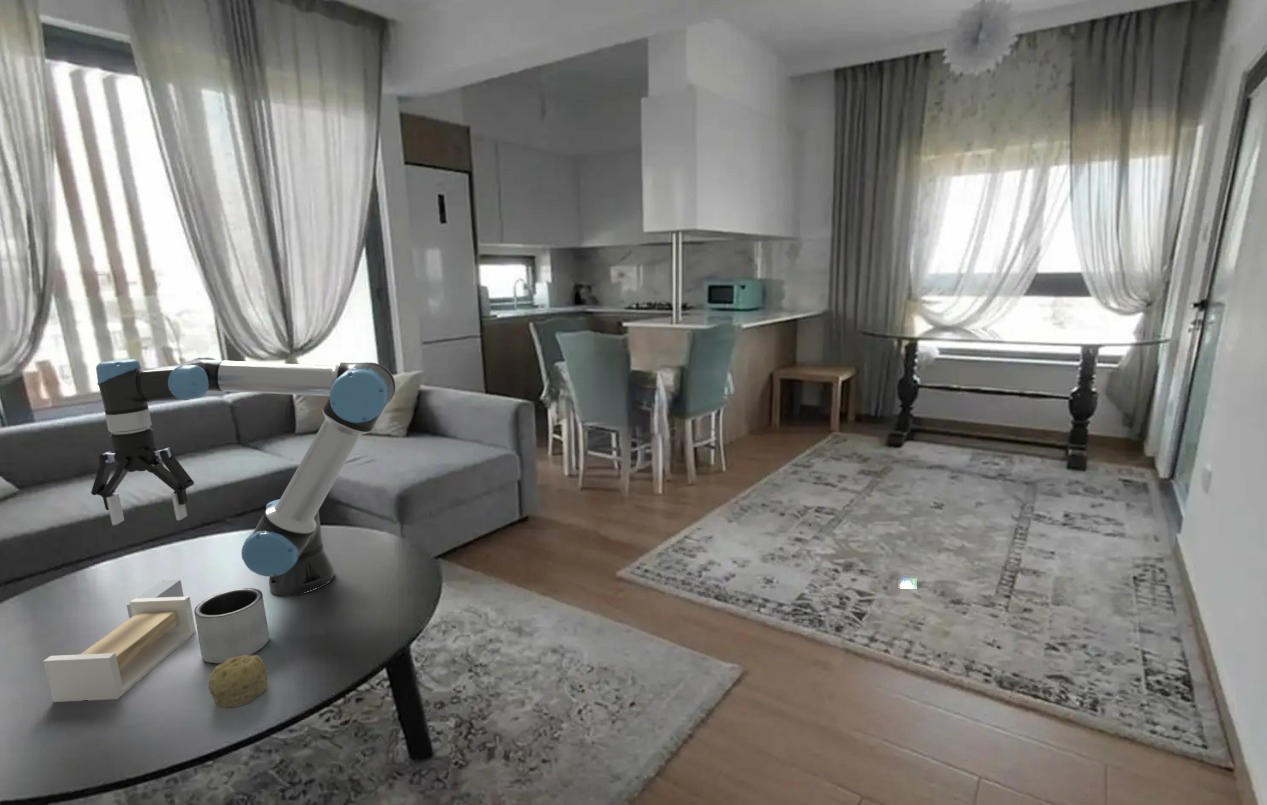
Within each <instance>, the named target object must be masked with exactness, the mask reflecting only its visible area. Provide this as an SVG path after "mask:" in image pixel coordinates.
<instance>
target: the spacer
mask: <svg viewBox="0 0 1267 805" xmlns="http://www.w3.org/2000/svg"><path fill="white" fill-rule="evenodd" d="M161 597H185V596H184V592H183V586H182V581H181V579H165V580H161V581H159V582H158V583H156V584H155V585H154V586H152V587H150V588H149V589H148V590H146V591H144V593H142V594H141V595H139V596H138V597H136V598H135V599H137V598H161ZM126 608H127V614H128V620H129V619H130V618H131V617H132V612H131V607H130V603H129V602H128V604H126Z"/></svg>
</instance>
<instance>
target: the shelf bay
mask: <svg viewBox="0 0 1267 805" xmlns="http://www.w3.org/2000/svg"><path fill="white" fill-rule="evenodd" d="M136 598H137V599H136ZM136 598H133V599H132V600H130V601H129V602H128V604H129V603H130V607H131V612H132V617H133V616H134V615H136V614H137V613H153V612H175V617H176V622H177V624H176V625H175V626H174V627H172V628H171V629H170V630H169V631H167V632H166V633H165V634H164V635H162V636H161V637H160V638H159V639H157V640H156V641H155V642H154V643H152V644H151V645H150V646H149V647H148V648H146V649H145V650H144V651H143V652H141V653H140V654H139V655H138V656H136V657H135V658H134V659H133V660H131V661H130V662H129V663H128V664H126V665H125V666H124V667H123V668H122V669H120V670H119V667H118V663H117V658H116V653H103V654H81V653H80V654H81V655H80V654H64V655H63V654H62V655H49V656H48V657H46V659H44V660H43V665H44V668H45V673H46V678H47V682H48V687H49V690H50V694H51V698H52V699H51V700H52V702H53V703H66V702H81V701H83V700H88V701H105V700H119V699H121V697H122V696H123V695H124V694H125V693H126V692H128V691H129V690H130V689H131V688H133V686H135V685H136V684H137V683H138V682H140V681H141V680H142V679H143V678H144V677H145V676H146V675H148V673H150V672H151V671H152V670H154V668H156V667H157V666H158V665H159V664H160V663H161V662H162V661H164V660H165V659H166V658H167V657H169V655H170V654H172V653H173V652H174V651H175V650H176V649H178V648H179V647H180V646H181V645H182V644H183V643H184V642H185V641H187V640H188V639H189V638H191V637H192V635H193V634H195V633H196V631H197V630H196V626H195V624H196V623H195V621H194V620H195V619H194V614H193V609H192V602H191V597H190V595H189V596H187V595H186V596H184V597H161V598H138V597H136ZM83 702H84V701H83Z"/></svg>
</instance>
